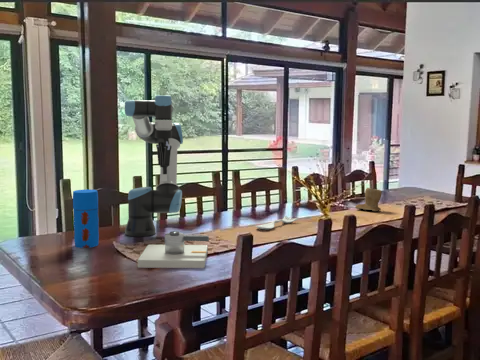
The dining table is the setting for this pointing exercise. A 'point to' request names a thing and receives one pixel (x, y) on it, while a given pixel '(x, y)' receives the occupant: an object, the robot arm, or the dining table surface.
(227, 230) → the dining table surface
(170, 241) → the capstan
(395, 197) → the dining table surface
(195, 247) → the stand
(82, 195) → the thermos
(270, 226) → the spoon
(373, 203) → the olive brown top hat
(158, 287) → the dining table surface
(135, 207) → the robot arm
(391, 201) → the dining table surface
